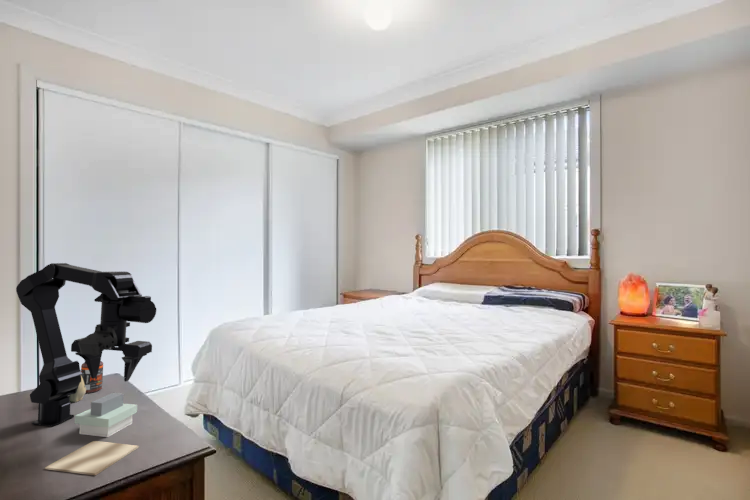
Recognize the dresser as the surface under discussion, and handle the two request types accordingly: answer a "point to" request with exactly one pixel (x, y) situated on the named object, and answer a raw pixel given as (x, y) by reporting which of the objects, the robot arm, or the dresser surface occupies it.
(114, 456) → the cork mat
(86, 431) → the storage box
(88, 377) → the supplement bottle
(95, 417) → the lid
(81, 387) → the ghost figurine
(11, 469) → the dresser surface
